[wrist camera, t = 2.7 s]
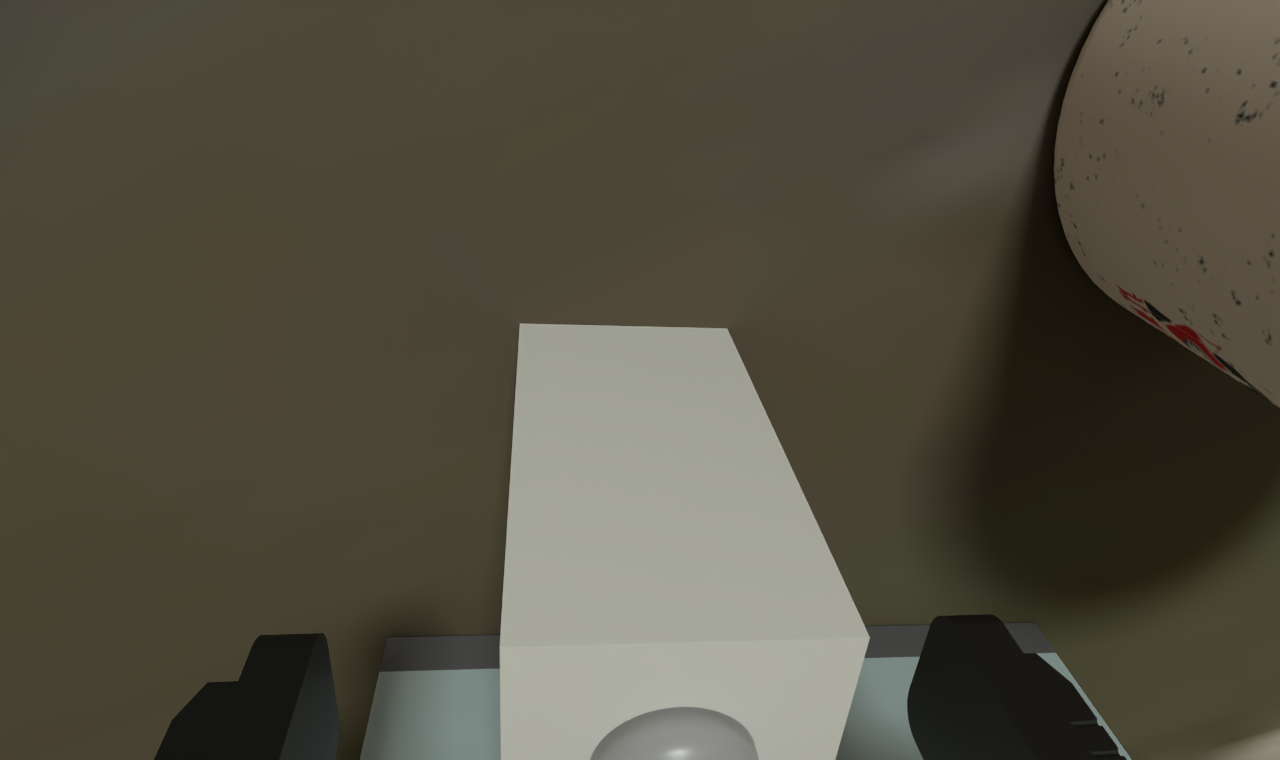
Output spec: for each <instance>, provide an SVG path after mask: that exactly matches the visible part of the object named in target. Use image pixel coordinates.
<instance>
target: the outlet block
mask: <svg viewBox="0 0 1280 760" xmlns="http://www.w3.org/2000/svg"><path fill="white" fill-rule="evenodd" d="M1003 624H1004V625H1005V626H1006V628H1007V629H1008V631H1009V632H1010V634H1011V635H1012V637H1013V638H1014V640H1015V641H1016V643H1017V644H1018V646H1019V647H1020V649H1021V650H1022V651H1023V653H1037V654H1038V655H1039V656H1040V657H1041V658H1043V659H1044V660H1045V661H1046V662H1047V663H1049V664H1050V665H1051V666H1052V667H1053V668H1055V669H1056V670H1057V671H1058V672H1059V673H1061V674H1062V675H1063V676H1064V677H1065V678H1067V679H1068V680H1069V681H1070V682H1071V683H1072V684H1073V685H1074V687H1075V688H1076V689H1077V691H1078V692H1079V694H1080V695H1081V696H1082V698H1083V699H1084V701H1085V702H1086V703H1087V705H1088V706H1089V708H1090V709H1091V710H1092V712H1093V713H1094V715H1095V716H1096V717H1097V723H1098V725H1099V726H1103V727H1104V729H1105V730H1106V731H1107V733H1108V734H1109V736H1110V737H1111V738H1112V740H1113V741H1114V742H1115V744H1116V745H1117V747H1118V752H1119V754H1120V756H1125V758H1126V759H1127V760H1131V758H1130V757H1129V755H1128V754H1127V753H1126V751H1125V750H1124V748H1123V747H1122V746H1121V744H1120V743H1119V741H1118V740H1117V739H1116V737H1115V736H1114V734H1113V733H1112V731H1111V730H1110V729H1109V727H1108V726H1107V724H1106V723H1105V722H1104V720H1103V719H1102V717H1101V716H1100V715H1099V713H1098V712H1097V710H1096V709H1095V708H1094V706H1093V705H1092V703H1091V702H1090V700H1089V699H1088V698H1087V696H1086V695H1085V693H1084V692H1083V691H1082V689H1081V688H1080V686H1079V685H1078V684H1077V682H1076V681H1075V679H1074V678H1073V677H1072V675H1071V674H1070V672H1069V671H1068V669H1067V668H1066V667H1065V665H1064V664H1063V662H1062V661H1061V660H1060V658H1059V657H1058V655H1057V654H1056V653H1055V651H1054V650H1053V648H1052V647H1051V646H1050V644H1049V643H1048V641H1047V640H1046V638H1045V637H1044V636H1043V634H1042V633H1041V631H1040V630H1039V629H1038V627H1037V626H1036V624H1035V623H1003ZM929 627H930V625H907V626H865V628H866V630H867V632H868V634H869V637H870V639H869V643H868V646H867V650H866V653H865V657H864V661H863V664H862V668H861V671H860V675H859V678H858V682H857V685H856V689H855V692H854V696H853V699H852V703H851V706H850V710H849V713H848V717H847V720H846V724H845V728H844V731H843V735H842V738H841V742H840V745H839V749H838V752H837V756H836V759H835V760H923V758H922V756H921V753H920V751H919V749H918V747H917V745H916V743H915V740H914V738H913V735H912V732H911V729H910V725H909V720H908V712H907V698H908V692H909V688H910V685H911V682H912V679H913V676H914V673H915V670H916V667H917V664H918V661H919V658H920V655H921V652H922V649H923V646H924V643H925V640H926V637H927V634H928V630H929ZM360 760H501V725H500V635H476V636H433V637H389V638H387V640H386V644H385V649H384V653H383V658H382V662H381V667H380V671H379V676H378V680H377V685H376V689H375V693H374V698H373V702H372V707H371V711H370V716H369V720H368V725H367V729H366V734H365V738H364V743H363V747H362V752H361V756H360Z"/></svg>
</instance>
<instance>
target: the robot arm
mask: <svg viewBox="0 0 1280 760" xmlns="http://www.w3.org/2000/svg"><path fill="white" fill-rule="evenodd" d="M907 712H908V720H909V725H910V729H911V732H912V735H913V738H914V740H915V743H916V745H917V747H918V749H919V751H920V753H921V756H922V758H923V760H1127V759H1126V758H1125V756H1120V754H1119V752H1118V747H1117V745H1116V744H1115V742H1114V741H1113V740H1112V738H1111V737H1110V736H1109V734H1108V733H1107V731H1106V730H1105V729H1104V727H1103V726H1099V725H1098V723H1097V717H1096V716H1095V715H1094V713H1093V712H1092V710H1091V709H1090V708H1089V706H1088V705H1087V703H1086V702H1085V701H1084V699H1083V698H1082V696H1081V695H1080V694H1079V692H1078V691H1077V689H1076V688H1075V687H1074V685H1073V684H1072V683H1071V682H1070V681H1069V680H1068V679H1067V678H1065V677H1064V676H1063V675H1062V674H1061V673H1059V672H1058V671H1057V670H1056V669H1055V668H1053V667H1052V666H1051V665H1050V664H1049V663H1047V662H1046V661H1045V660H1044V659H1043V658H1041V657H1040V656H1039V655H1038V654H1037V653H1023V651H1022V650H1021V649H1020V647H1019V646H1018V644H1017V643H1016V641H1015V640H1014V638H1013V637H1012V635H1011V634H1010V632H1009V631H1008V629H1007V628H1006V626H1005V625H1004V624H1003V623H1002V621H1001V620H1000V619H998V618H997V617H996V616H994V615H957V616H938V617H936V618H935V619H934V620H933V621H932V623H931V625H930V627H929V630H928V634H927V637H926V640H925V643H924V646H923V649H922V652H921V655H920V658H919V661H918V664H917V667H916V670H915V673H914V676H913V679H912V682H911V685H910V688H909V692H908V698H907ZM338 733H339V721H338V710H337V704H336V697H335V690H334V684H333V677H332V670H331V664H330V657H329V650H328V644H327V640H326V637H325V635H324V634H323V633H317V634H285V635H260V636H259V637H258V638H257V639H256V640H255V642H254V644H253V646H252V648H251V651H250V653H249V656H248V658H247V661H246V663H245V666H244V668H243V671H242V673H241V676H240V679H239V681H235V682H209V683H207V684H206V685H205V686H204V687H203V688H202V689H201V690H200V691H199V692H198V693H197V694H196V695H195V696H194V698H193V699H192V700H191V701H190V702H189V703H188V704H187V705H186V706H185V707H184V708H183V709H182V710H181V711H180V712H179V713H178V714H177V716H176V717H175V718H174V719H173V720H172V721H171V724H170V726H169V728H168V730H167V732H166V735H165V737H164V739H163V741H162V743H161V746H160V748H159V750H158V752H157V754H156V756H155V759H154V760H336V756H337V747H338Z"/></svg>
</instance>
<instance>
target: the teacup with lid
mask: <svg viewBox="0 0 1280 760" xmlns="http://www.w3.org/2000/svg"><path fill="white" fill-rule="evenodd" d="M1054 182H1055V195H1056V200H1057V206H1058V212H1059V216H1060V219H1061V223H1062V226H1063V229H1064V233H1065V236H1066V238H1067V240H1068V243H1069V245H1070V247H1071V250H1072V252H1073V254H1074V255H1075V257H1076V259H1077V260H1078V262H1079V264H1080V265H1081V267H1082V268H1083V270H1084V271H1085V272H1086V273H1087V275H1088V276H1089V277H1090V278H1091V280H1092V281H1093V282H1094V283H1095V284H1096V285H1097V286H1098V287H1099V288H1100V289H1101V290H1102V291H1103V292H1104V293H1105V294H1107V295H1108V296H1109V297H1110V298H1112V299H1113V300H1114V301H1116V302H1117V303H1118V304H1120V305H1121V306H1123V307H1124V308H1126V309H1127V310H1129V311H1130V312H1132V313H1133V314H1135V315H1136V316H1138V317H1140V318H1141V319H1143V320H1144V321H1146V322H1147V323H1149V324H1150V325H1152V326H1153V327H1155V328H1157V329H1158V330H1160V331H1161V332H1163V333H1164V334H1166V335H1167V336H1169V337H1170V338H1172V339H1174V340H1175V341H1177V342H1178V343H1180V344H1181V345H1183V346H1184V347H1186V348H1187V349H1189V350H1191V351H1192V352H1194V353H1195V354H1197V355H1198V356H1200V357H1201V358H1203V359H1205V360H1206V361H1208V362H1209V363H1211V364H1212V365H1214V366H1215V367H1217V368H1218V369H1220V370H1222V371H1223V372H1225V373H1226V374H1228V375H1229V376H1231V377H1232V378H1234V379H1235V380H1237V381H1239V382H1240V383H1242V384H1243V385H1245V386H1246V387H1248V388H1249V389H1251V390H1252V391H1254V392H1256V393H1257V394H1259V395H1260V396H1262V397H1263V398H1265V399H1266V400H1268V401H1269V402H1271V403H1273V404H1274V405H1276V406H1277V407H1279V408H1280V0H1108V1H1107V3H1106V5H1105V6H1104V8H1103V10H1102V11H1101V13H1100V15H1099V17H1098V18H1097V20H1096V22H1095V23H1094V25H1093V27H1092V29H1091V31H1090V34H1089V36H1088V38H1087V40H1086V42H1085V44H1084V46H1083V48H1082V50H1081V52H1080V55H1079V57H1078V60H1077V62H1076V65H1075V67H1074V70H1073V72H1072V75H1071V78H1070V81H1069V84H1068V87H1067V90H1066V94H1065V97H1064V100H1063V104H1062V109H1061V113H1060V118H1059V122H1058V128H1057V135H1056V143H1055V155H1054Z"/></svg>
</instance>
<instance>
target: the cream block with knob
mask: <svg viewBox="0 0 1280 760" xmlns="http://www.w3.org/2000/svg"><path fill="white" fill-rule="evenodd" d="M869 639H870V637H869V634H868V632H867V630H866V628H865V626H864V624H863V621H862V619H861V617H860V615H859V613H858V611H857V608H856V606H855V604H854V602H853V600H852V598H851V596H850V593H849V591H848V589H847V587H846V585H845V583H844V580H843V578H842V576H841V574H840V572H839V570H838V567H837V565H836V563H835V561H834V559H833V557H832V554H831V552H830V550H829V548H828V546H827V544H826V541H825V539H824V537H823V535H822V533H821V531H820V528H819V526H818V524H817V522H816V520H815V518H814V516H813V513H812V511H811V509H810V507H809V505H808V503H807V500H806V498H805V496H804V494H803V492H802V490H801V487H800V485H799V483H798V481H797V479H796V477H795V474H794V472H793V470H792V468H791V466H790V464H789V461H788V459H787V457H786V455H785V453H784V451H783V449H782V446H781V444H780V442H779V440H778V438H777V436H776V433H775V431H774V429H773V427H772V425H771V423H770V420H769V418H768V416H767V414H766V412H765V410H764V407H763V405H762V403H761V401H760V399H759V397H758V394H757V392H756V390H755V388H754V386H753V384H752V381H751V379H750V377H749V375H748V373H747V371H746V369H745V366H744V364H743V362H742V360H741V358H740V356H739V353H738V351H737V349H736V347H735V345H734V343H733V340H732V338H731V336H730V334H729V332H728V330H727V329H724V328H682V327H640V326H598V325H556V324H520V329H519V345H518V361H517V377H516V393H515V409H514V425H513V441H512V457H511V473H510V489H509V505H508V521H507V537H506V553H505V569H504V585H503V601H502V617H501V633H500V725H501V760H835V759H836V756H837V752H838V749H839V745H840V742H841V738H842V735H843V731H844V728H845V724H846V720H847V717H848V713H849V710H850V706H851V703H852V699H853V696H854V692H855V689H856V685H857V682H858V678H859V675H860V671H861V668H862V664H863V661H864V657H865V653H866V650H867V646H868V643H869Z"/></svg>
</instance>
